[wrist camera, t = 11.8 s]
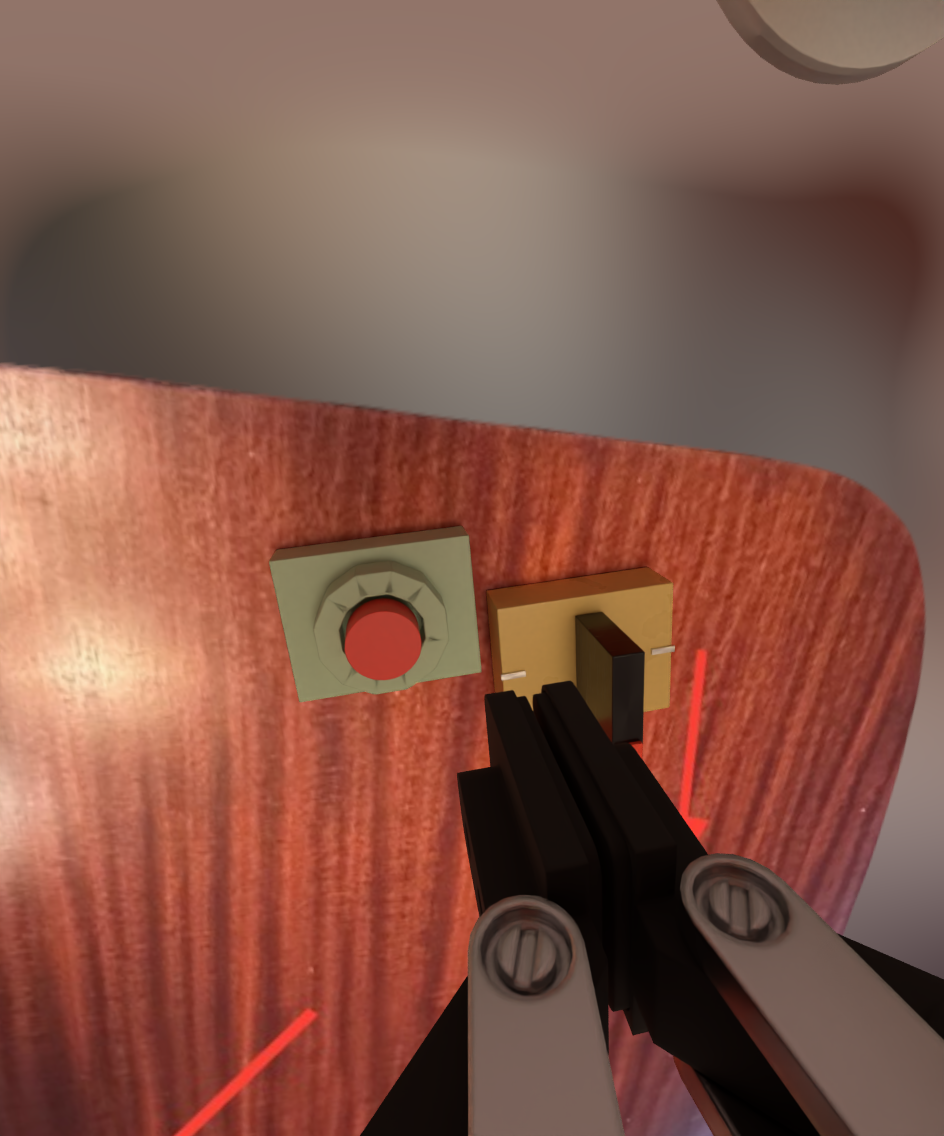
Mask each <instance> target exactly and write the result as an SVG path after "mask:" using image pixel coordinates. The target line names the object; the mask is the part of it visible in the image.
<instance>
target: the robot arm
mask: <svg viewBox="0 0 944 1136" xmlns="http://www.w3.org/2000/svg"><path fill="white" fill-rule="evenodd" d="M485 712H486V723H487V733H488V744H489V755H490V766H491V767H488V768H482V769H477V770H471V771H466V772H460V773H457V780H458V789H459V797H460V806H461V813H462V820H463V827H464V834H465V840H466V846H467V852H468V858H469V863H470V868H471V874H472V879H473V884H474V890H475V895H476V900H477V906H478V911H479V918H478V920H477V922H476V924H475V926H474V928H473V930H472V932H471V934H470V941H469V947H468V976H467V977H466V979H465V980H464V982H463V983H462V985H461V986H460V988H459V989H458V991H457V992H456V994H455V995H454V997H453V998H452V1000H451V1001H450V1003H449V1004H448V1006H447V1007H446V1009H445V1010H444V1012H443V1013H442V1015H441V1016H440V1018H439V1019H438V1021H437V1022H436V1024H435V1025H434V1026H433V1028H432V1029H431V1031H430V1032H429V1034H428V1035H427V1037H426V1038H425V1040H424V1041H423V1043H422V1044H421V1046H420V1047H419V1049H418V1050H417V1052H416V1053H415V1055H414V1056H413V1058H412V1059H411V1061H410V1062H409V1064H408V1065H407V1067H406V1068H405V1070H404V1071H403V1073H402V1074H401V1076H400V1077H399V1079H398V1080H397V1081H396V1083H395V1084H394V1086H393V1087H392V1089H391V1090H390V1092H389V1093H388V1095H387V1096H386V1098H385V1099H384V1101H383V1102H382V1104H381V1105H380V1107H379V1108H378V1110H377V1111H376V1113H375V1114H374V1116H373V1117H372V1119H371V1120H370V1122H369V1123H368V1125H367V1126H366V1128H365V1129H364V1131H363V1132H362V1134H361V1135H360V1136H625V1135H624V1130H623V1125H622V1120H621V1116H620V1111H619V1106H618V1101H617V1096H616V1091H615V1087H614V1082H613V1077H612V1072H611V1067H610V1063H609V1058H608V1055H609V1032H608V1004H609V1006H610V1008H611V1010H612V1011H613V1012H614V1011H618V1010H623V1011H624V1014H625V1016H626V1019H627V1021H628V1024H629V1026H630V1029H631V1032H632V1034H633V1035H636V1034H640V1033H644V1032H648V1031H649V1033H650V1036H651V1038H652V1041H653V1043H654V1044H656V1045H657V1046H659V1047H661V1048H662V1049H664V1050H665V1051H667V1052H669V1053H670V1054H672V1055H673V1058H674V1062H675V1065H676V1067H677V1069H678V1072H679V1074H680V1077H681V1079H682V1081H683V1083H684V1084H685V1086H686V1088H687V1090H688V1091H689V1093H690V1095H691V1097H692V1098H693V1100H694V1102H695V1104H696V1105H697V1107H698V1109H699V1111H700V1112H701V1114H702V1116H703V1118H704V1119H705V1121H706V1123H707V1125H708V1127H709V1128H710V1130H711V1132H712V1134H713V1135H714V1136H944V979H941V978H939V977H937V976H934V975H932V974H930V973H927V972H925V971H922V970H920V969H918V968H916V967H913V966H911V965H909V964H907V963H904V962H902V961H900V960H897V959H895V958H893V957H890V956H888V955H886V954H883V953H881V952H879V951H877V950H874V949H872V948H870V947H867V946H865V945H863V944H860V943H858V942H856V941H853V940H851V939H849V938H846V937H844V936H842V935H840V934H837V933H836V932H835V931H834V930H833V929H832V928H831V927H830V926H829V925H828V924H827V923H826V922H825V921H824V920H823V919H822V918H821V917H820V916H819V915H818V914H817V913H816V912H815V911H814V910H813V909H812V908H811V907H810V906H809V905H808V904H807V903H806V902H805V901H804V900H803V899H802V898H801V897H800V896H799V895H798V894H797V893H796V892H795V891H794V890H793V889H792V888H791V887H790V886H789V885H788V884H787V883H786V882H785V881H783V880H782V879H781V878H780V877H778V876H777V875H776V874H775V873H773V872H772V871H771V870H770V869H768V868H766V867H764V866H763V865H761V864H759V863H757V862H755V861H753V860H751V859H747V858H744V857H741V856H737V855H734V854H719V853H716V854H711V855H708V854H707V852H706V851H705V849H704V848H703V846H702V845H701V844H700V842H699V841H698V839H697V838H696V836H695V835H694V833H693V832H692V831H691V829H690V828H689V826H688V825H687V823H686V822H685V820H684V819H683V818H682V816H681V815H680V813H679V812H678V810H677V809H676V807H675V806H674V805H673V803H672V802H671V800H670V799H669V797H668V796H667V794H666V793H665V792H664V790H663V789H662V787H661V786H660V784H659V783H658V781H657V780H656V779H655V777H654V776H653V774H652V773H651V771H650V770H649V769H648V767H647V766H646V764H645V763H644V761H643V760H642V758H641V757H640V756H639V754H638V753H637V751H636V750H635V749H634V747H633V746H632V745H631V744H629V743H627V742H625V743H619V744H614V745H613V744H612V742H611V741H610V739H609V738H608V736H607V735H606V733H605V731H604V730H603V728H602V727H601V725H600V724H599V722H598V720H597V719H596V717H595V716H594V714H593V713H592V711H591V710H590V708H589V706H588V705H587V703H586V702H585V700H584V699H583V697H582V696H581V694H580V692H579V691H578V689H577V688H576V686H575V685H574V683H573V682H572V681H563V682H557V683H551V684H545V685H543V686H542V688H541V693H538V694H534V695H533V710H532V708H531V706H530V703H529V701H528V699H527V697H526V696H520V697H517V696H516V694H515V692H514V690H509V691H503V692H497V693H491V694H485Z"/></svg>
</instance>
